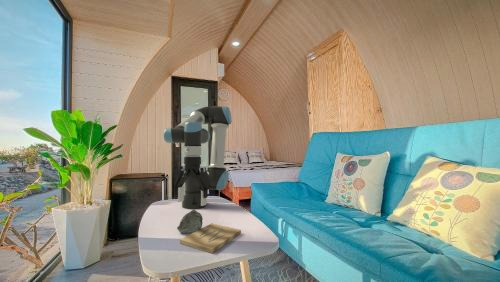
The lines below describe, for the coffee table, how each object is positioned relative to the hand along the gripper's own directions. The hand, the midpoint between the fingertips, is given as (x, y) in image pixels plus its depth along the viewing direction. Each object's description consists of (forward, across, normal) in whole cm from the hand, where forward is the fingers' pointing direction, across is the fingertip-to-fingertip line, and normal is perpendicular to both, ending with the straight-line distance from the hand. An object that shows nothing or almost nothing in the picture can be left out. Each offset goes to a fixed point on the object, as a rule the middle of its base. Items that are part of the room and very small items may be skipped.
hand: (191, 203), depth 99 cm
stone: (+12, 0, 0) cm, 13 cm away
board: (+12, +13, -2) cm, 18 cm away
